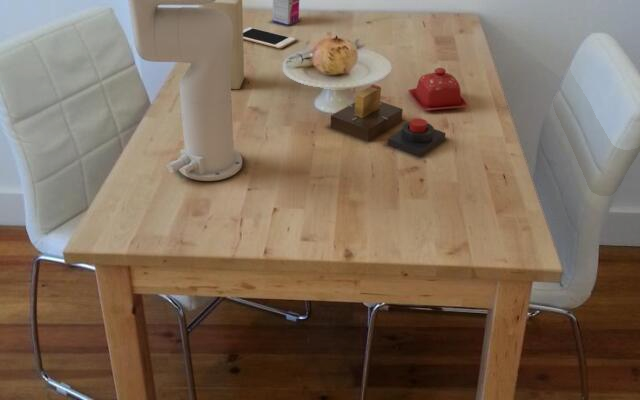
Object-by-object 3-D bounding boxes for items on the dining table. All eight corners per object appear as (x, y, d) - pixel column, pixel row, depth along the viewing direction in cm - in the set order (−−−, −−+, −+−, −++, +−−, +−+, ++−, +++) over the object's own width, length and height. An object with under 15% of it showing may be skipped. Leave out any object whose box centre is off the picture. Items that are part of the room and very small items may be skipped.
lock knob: (362, 118, 159) (363, 96, 156) (354, 115, 160) (355, 93, 158) (379, 108, 164) (381, 86, 161) (371, 105, 165) (373, 83, 162)
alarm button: (420, 135, 153) (421, 127, 152) (405, 130, 155) (406, 122, 154) (429, 129, 156) (430, 121, 155) (415, 124, 157) (415, 116, 156)
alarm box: (419, 157, 152) (421, 142, 150) (387, 145, 156) (388, 130, 154) (444, 140, 158) (446, 125, 156) (413, 128, 162) (414, 114, 160)
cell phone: (280, 49, 200) (280, 46, 200) (232, 36, 207) (232, 34, 207) (296, 40, 206) (296, 38, 205) (249, 28, 213) (249, 26, 212)
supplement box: (288, 26, 216) (288, -13, 209) (272, 22, 218) (271, -17, 212) (299, 21, 220) (300, -18, 213) (283, 17, 222) (283, -22, 216)
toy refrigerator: (245, 77, 184) (242, -7, 173) (240, 89, 178) (236, 3, 166) (214, 75, 184) (209, -9, 173) (207, 87, 178) (201, 1, 167)
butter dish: (421, 115, 168) (424, 80, 163) (406, 94, 178) (409, 60, 173) (469, 111, 170) (473, 77, 166) (451, 90, 180) (455, 57, 175)
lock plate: (369, 142, 157) (369, 129, 155) (329, 127, 162) (329, 114, 160) (402, 121, 165) (404, 108, 163) (363, 107, 171) (364, 95, 169)
